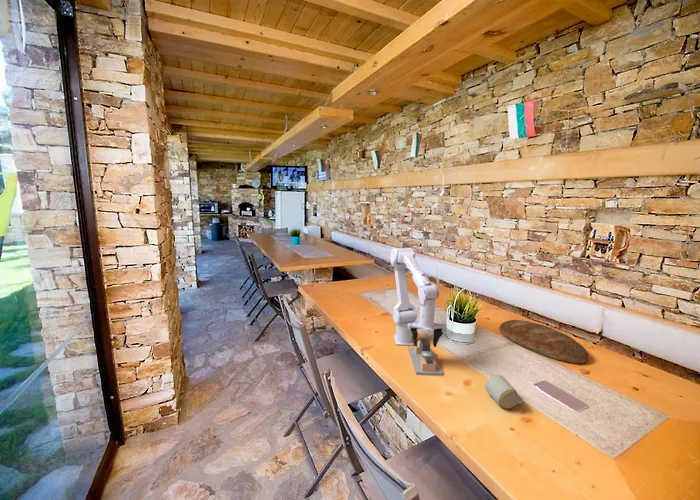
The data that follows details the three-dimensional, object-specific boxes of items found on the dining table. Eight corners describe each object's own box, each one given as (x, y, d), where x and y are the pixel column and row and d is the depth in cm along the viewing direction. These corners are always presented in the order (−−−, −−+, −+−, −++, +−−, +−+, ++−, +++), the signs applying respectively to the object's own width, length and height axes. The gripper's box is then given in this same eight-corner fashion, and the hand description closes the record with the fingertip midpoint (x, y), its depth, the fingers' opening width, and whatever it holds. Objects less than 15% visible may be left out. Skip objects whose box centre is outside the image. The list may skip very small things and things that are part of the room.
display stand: (408, 349, 131) (408, 338, 130) (430, 350, 131) (431, 338, 130) (416, 374, 113) (416, 361, 112) (442, 375, 112) (443, 362, 111)
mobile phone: (575, 411, 93) (531, 383, 107) (575, 414, 93) (530, 386, 107) (590, 405, 96) (545, 379, 110) (589, 407, 96) (544, 381, 110)
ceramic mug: (498, 411, 94) (501, 389, 92) (483, 394, 102) (485, 374, 100) (528, 408, 95) (531, 387, 94) (511, 392, 103) (514, 372, 102)
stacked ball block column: (415, 342, 130) (416, 331, 129) (424, 342, 129) (425, 331, 129) (423, 363, 113) (424, 351, 112) (434, 363, 113) (435, 351, 112)
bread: (514, 325, 159) (516, 310, 157) (598, 357, 127) (601, 339, 126) (488, 333, 148) (490, 318, 147) (572, 371, 116) (575, 351, 115)
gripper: (410, 317, 114) (408, 350, 117) (448, 318, 114) (445, 351, 116) (407, 310, 121) (406, 341, 124) (443, 311, 121) (440, 342, 123)
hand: (425, 345), depth 121 cm, fingers open, 7 cm apart
